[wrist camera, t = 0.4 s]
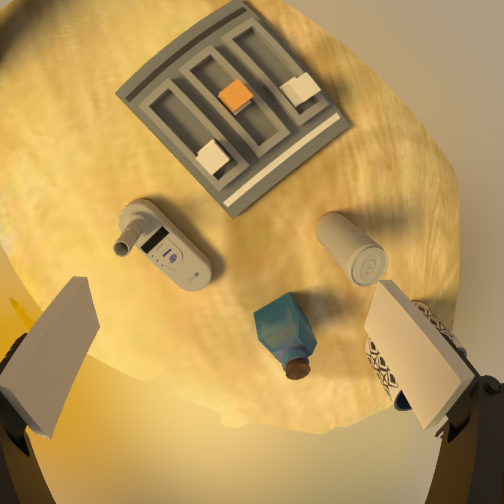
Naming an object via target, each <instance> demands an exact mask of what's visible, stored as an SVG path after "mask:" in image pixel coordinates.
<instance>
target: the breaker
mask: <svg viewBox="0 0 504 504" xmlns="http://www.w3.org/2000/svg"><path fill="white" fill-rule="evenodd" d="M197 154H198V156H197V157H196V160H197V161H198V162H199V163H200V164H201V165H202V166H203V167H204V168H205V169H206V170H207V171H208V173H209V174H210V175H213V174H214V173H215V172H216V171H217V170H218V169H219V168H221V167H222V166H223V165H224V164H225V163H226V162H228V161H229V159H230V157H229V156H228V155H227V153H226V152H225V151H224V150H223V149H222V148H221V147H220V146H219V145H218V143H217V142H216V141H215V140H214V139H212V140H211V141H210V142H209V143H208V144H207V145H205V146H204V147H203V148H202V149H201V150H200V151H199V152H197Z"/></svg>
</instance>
